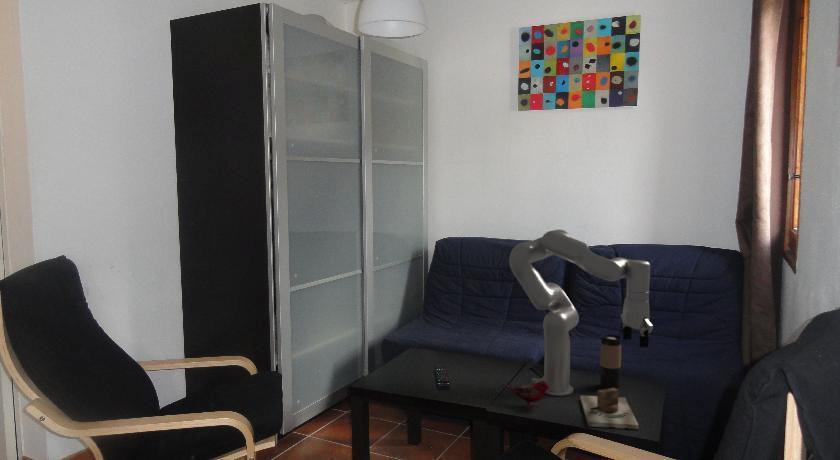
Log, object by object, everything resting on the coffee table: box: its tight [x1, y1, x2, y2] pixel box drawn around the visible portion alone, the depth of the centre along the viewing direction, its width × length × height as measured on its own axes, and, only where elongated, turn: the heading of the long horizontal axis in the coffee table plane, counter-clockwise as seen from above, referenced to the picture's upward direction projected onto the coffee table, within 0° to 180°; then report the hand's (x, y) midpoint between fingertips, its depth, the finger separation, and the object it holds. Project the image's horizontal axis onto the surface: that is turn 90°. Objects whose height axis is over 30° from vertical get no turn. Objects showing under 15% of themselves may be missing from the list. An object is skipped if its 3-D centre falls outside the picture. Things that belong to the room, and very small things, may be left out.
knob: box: [590, 388, 620, 412], centre depth 206 cm, size 10×7×6 cm, turn 111°
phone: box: [530, 364, 544, 378], centre depth 249 cm, size 8×1×15 cm
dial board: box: [579, 394, 640, 430], centre depth 207 cm, size 16×24×2 cm, turn 171°
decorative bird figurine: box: [502, 381, 550, 408], centre depth 214 cm, size 3×18×10 cm, turn 62°
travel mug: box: [599, 334, 622, 390], centre depth 232 cm, size 8×8×20 cm
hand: (635, 343), depth 210 cm, fingers open, 9 cm apart
